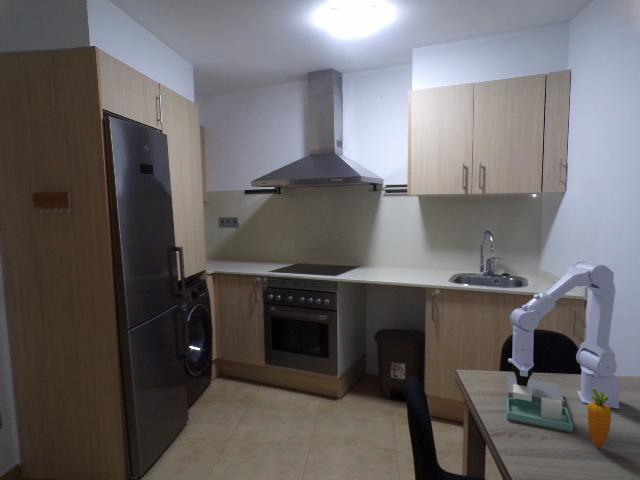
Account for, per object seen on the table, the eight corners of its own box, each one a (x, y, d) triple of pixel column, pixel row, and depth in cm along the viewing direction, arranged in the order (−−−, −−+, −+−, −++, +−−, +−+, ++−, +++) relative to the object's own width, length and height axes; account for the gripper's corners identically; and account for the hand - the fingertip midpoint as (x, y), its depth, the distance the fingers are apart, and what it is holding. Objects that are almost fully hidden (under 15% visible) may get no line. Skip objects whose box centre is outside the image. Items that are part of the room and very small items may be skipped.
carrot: (614, 455, 91) (616, 396, 90) (591, 452, 92) (593, 394, 91) (603, 442, 96) (605, 386, 95) (582, 440, 97) (583, 385, 96)
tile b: (530, 393, 116) (531, 387, 115) (531, 401, 111) (531, 395, 111) (512, 389, 118) (513, 383, 118) (512, 398, 114) (513, 392, 113)
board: (557, 393, 122) (557, 383, 122) (564, 413, 111) (564, 401, 110) (506, 385, 129) (507, 375, 128) (507, 402, 117) (508, 392, 117)
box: (566, 415, 109) (566, 407, 109) (572, 433, 100) (573, 425, 100) (506, 403, 116) (506, 397, 116) (507, 419, 107) (507, 412, 107)
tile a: (561, 400, 107) (562, 403, 105) (560, 417, 107) (561, 420, 106) (541, 396, 109) (541, 399, 108) (540, 413, 110) (541, 416, 108)
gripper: (508, 338, 124) (507, 378, 125) (509, 353, 111) (508, 397, 112) (532, 341, 121) (531, 381, 122) (536, 357, 108) (535, 401, 109)
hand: (521, 389), depth 117 cm, fingers closed
